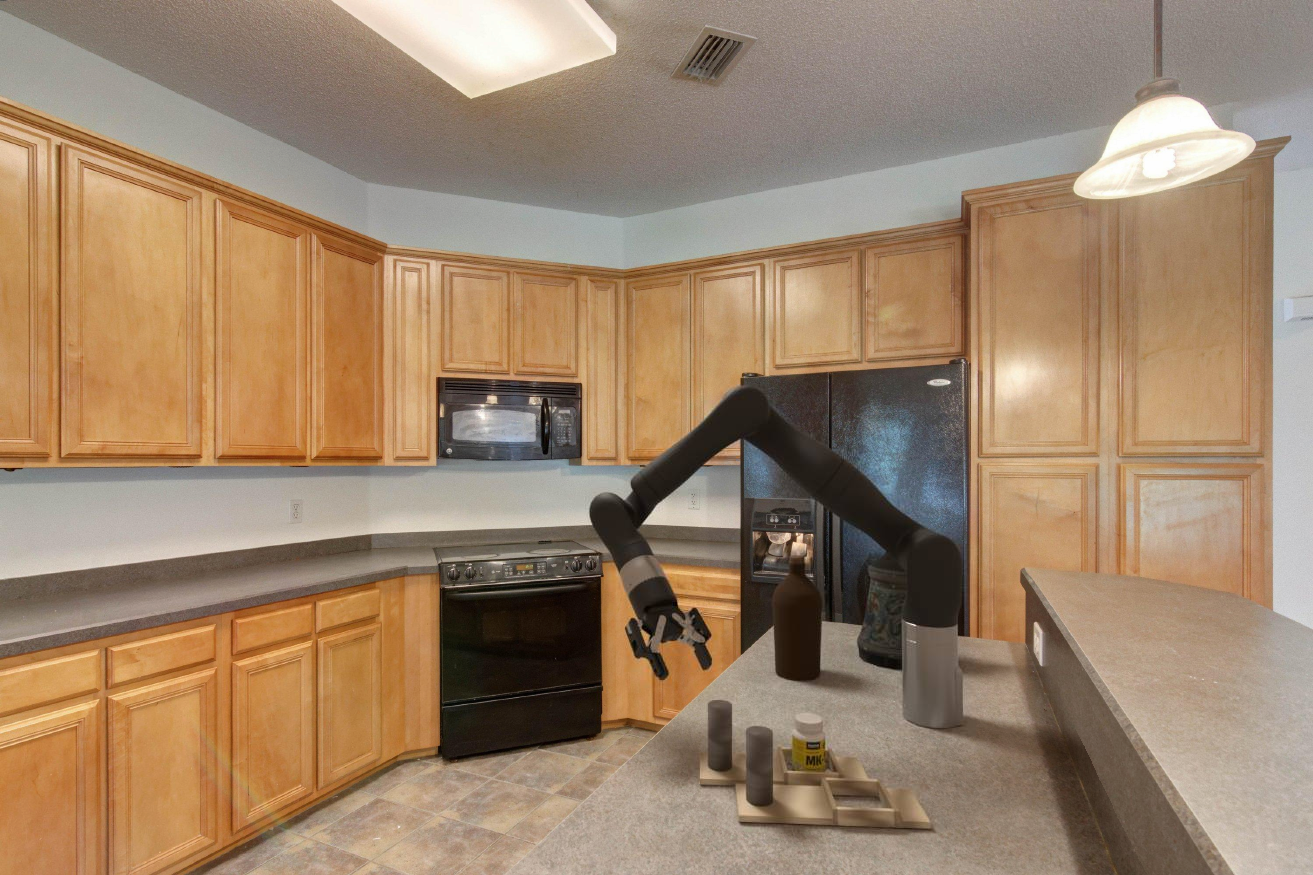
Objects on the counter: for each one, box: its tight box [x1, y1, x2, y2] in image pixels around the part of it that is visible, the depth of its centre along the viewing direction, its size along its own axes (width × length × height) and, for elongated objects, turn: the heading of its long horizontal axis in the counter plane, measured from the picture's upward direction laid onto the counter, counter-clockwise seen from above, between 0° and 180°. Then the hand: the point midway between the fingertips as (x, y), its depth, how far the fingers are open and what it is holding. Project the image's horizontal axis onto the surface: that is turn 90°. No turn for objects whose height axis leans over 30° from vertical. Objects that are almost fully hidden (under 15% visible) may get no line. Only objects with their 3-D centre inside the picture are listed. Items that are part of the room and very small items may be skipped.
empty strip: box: [734, 725, 932, 829], centre depth 86 cm, size 24×8×10 cm, turn 86°
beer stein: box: [856, 551, 907, 671], centre depth 150 cm, size 16×19×25 cm
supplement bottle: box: [791, 712, 826, 772], centre depth 96 cm, size 5×5×8 cm
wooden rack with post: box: [699, 699, 869, 786], centre depth 96 cm, size 24×8×10 cm, turn 86°
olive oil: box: [771, 554, 824, 682], centre depth 139 cm, size 11×11×25 cm
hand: (687, 672), depth 103 cm, fingers open, 8 cm apart
